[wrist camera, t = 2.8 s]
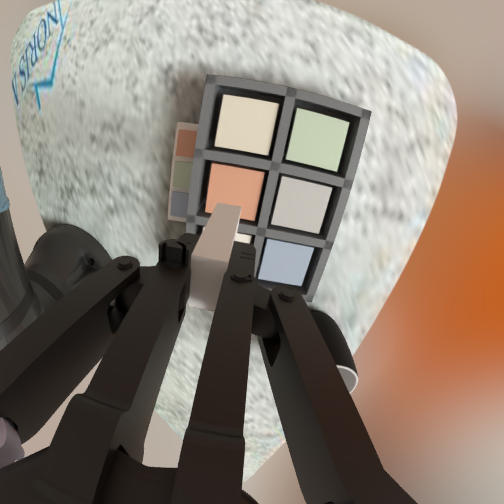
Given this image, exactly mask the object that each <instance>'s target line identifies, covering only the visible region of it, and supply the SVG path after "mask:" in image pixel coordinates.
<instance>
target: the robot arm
mask: <svg viewBox="0 0 504 504" xmlns="http://www.w3.org/2000/svg"><path fill="white" fill-rule="evenodd" d="M241 208H242V207H240V206H234V205H229V204H223V203H217V205H216V207H215V209H214V211H213V213H212V215H211V217H210V219H209V220H208V222H207V224H206V226H205V228H204V230H203V232H202V234H201V235H197V234H192V233H186V234H184V235H182V236H181V237H180V238H179V240H174V239H171V240H165V241H162V242H161V243H160V244H159V261H158V263H157V265H156V266H149V267H148V266H140V262H139V261H138V259H136V258H134V257H131V256H121V257H117V258H115V259H113V260H112V259H111V258H110V256H109V254H108V253H107V252H106V250H105V249H104V248H103V247H102V246H101V244H100V243H99V242H98V241H97V240H96V239H94V238H93V237H92V236H91V235H89V234H88V233H87V232H85V231H83V230H81V229H79V228H77V227H74V226H71V225H58V226H55V227H53V228H51V229H50V230H48V231H47V232H46V233H44V234H43V235H42V236H41V237H40V238H39V239H38V240H37V242H36V244H35V246H34V249H33V251H32V253H31V254H30V256H29V258H28V259H27V261H26V263H25V265H24V263H23V260H22V256H21V253H20V250H19V247H18V243H17V239H16V236H15V232H14V228H13V224H12V220H11V215H10V211H9V199H8V198H7V196H6V193H5V188H4V183H3V178H2V172H1V168H0V504H258V503H257V501H256V500H254V499H253V498H252V497H251V496H250V495H249V494H248V493H246V492H245V491H244V490H242V479H243V467H244V454H245V439H244V437H243V427H244V415H245V404H246V392H247V380H248V367H249V355H250V343H251V333H252V334H255V335H257V336H258V342H259V345H260V349H261V353H262V356H263V360H264V364H265V367H266V371H267V374H268V378H269V382H270V385H271V389H272V392H273V396H274V400H275V403H276V407H277V410H278V414H279V417H280V421H281V424H282V428H283V431H284V434H285V438H286V441H287V445H288V448H289V452H290V455H291V458H292V462H293V465H294V468H295V472H296V475H297V478H298V481H299V485H300V488H301V491H302V494H303V496H304V499H305V501H306V503H307V504H417V503H416V502H415V501H414V500H413V499H412V498H411V497H410V496H409V495H408V494H407V493H406V492H405V491H404V490H403V489H402V488H401V487H400V486H399V485H398V483H397V482H396V481H395V480H394V479H393V478H392V477H390V475H389V474H387V472H386V471H385V470H384V469H383V466H382V464H381V462H380V459H379V457H378V455H377V453H376V450H375V448H374V446H373V444H372V441H371V439H370V437H369V435H368V432H367V430H366V428H365V426H364V423H363V421H362V419H361V417H360V415H359V413H358V411H357V408H356V406H355V404H354V402H353V400H352V397H351V395H350V393H349V391H348V389H347V387H346V385H345V382H344V380H343V378H342V376H341V374H340V372H339V370H338V368H337V366H336V364H335V361H334V359H333V357H332V355H331V353H330V351H329V349H328V347H327V345H326V343H325V341H324V339H323V337H322V335H321V333H320V331H319V329H318V327H317V325H316V322H315V320H314V318H313V316H312V314H311V312H310V310H309V308H308V306H307V304H306V302H305V300H304V298H303V296H302V295H301V294H300V292H299V291H297V290H296V289H294V288H292V287H289V286H283V285H282V286H276V287H274V288H273V289H272V291H271V290H268V289H266V288H264V287H262V286H260V285H259V284H258V283H257V282H256V281H255V276H254V272H255V259H256V248H255V247H254V245H253V244H249V243H244V242H238V241H236V236H237V230H238V225H239V219H240V214H241ZM187 300H188V306H191V307H196V308H201V309H206V310H211V311H215V312H214V316H213V320H212V325H211V329H210V333H209V337H208V341H207V345H206V350H205V354H204V358H203V362H202V367H201V371H200V376H199V380H198V384H197V389H196V393H195V398H194V402H193V407H192V411H191V416H190V420H189V424H188V427H187V429H186V432H185V435H184V439H183V444H182V449H181V453H180V459H179V463H178V468H161V467H148V466H145V465H143V464H142V461H143V454H144V441H145V437H146V434H147V430H148V427H149V424H150V420H151V416H152V413H153V410H154V407H155V404H156V400H157V397H158V394H159V391H160V387H161V384H162V381H163V378H164V375H165V372H166V369H167V366H168V363H169V360H170V357H171V354H172V351H173V348H174V345H175V342H176V339H177V336H178V333H179V330H180V327H181V324H182V322H183V319H184V316H185V312H186V303H187ZM102 357H103V358H102ZM101 358H102V360H101V362H100V364H99V366H98V368H97V370H96V372H95V374H94V376H93V378H92V380H91V382H90V384H89V386H88V388H87V390H86V391H85V392H84V393H83V394H76V395H75V396H73V398H72V399H71V400H70V402H69V404H68V406H67V408H66V410H65V412H64V414H63V416H62V419H61V421H60V423H59V426H58V428H57V430H56V432H55V435H54V437H53V439H52V442H51V444H50V446H48V447H46V448H44V449H42V450H40V451H38V452H36V453H34V454H32V455H29V456H28V457H25V458H23V457H24V450H23V448H22V446H21V444H23V443H25V442H26V441H28V440H29V439H30V438H31V437H33V436H34V435H35V434H36V433H37V432H38V431H39V430H40V429H41V428H42V427H43V426H44V425H45V423H46V422H47V421H48V420H49V419H50V417H51V416H52V415H53V414H54V413H55V411H56V410H57V409H58V408H59V407H60V405H61V404H62V403H63V402H64V401H65V399H66V398H67V397H68V396H69V395H70V394H71V393H72V391H73V390H74V389H75V388H76V387H77V386H78V384H79V383H80V382H81V381H82V380H83V379H84V378H85V376H86V375H87V374H88V373H89V372H90V371H91V370H92V369H93V367H94V366H95V365H96V364H97V363H98V362H99V361H100V359H101ZM15 460H18V461H16V462H15Z"/></svg>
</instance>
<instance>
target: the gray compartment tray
mask: <svg viewBox="0 0 504 504" xmlns="http://www.w3.org/2000/svg"><path fill="white" fill-rule="evenodd" d="M223 95H231V96H238V97H244V98H250V99H256V100H262V101H267V102H272V103H277V104H279V107H278V111H277V116H276V121H275V126H274V130H273V135H272V140H271V145H270V149H269V154H268V155H263V154H257V153H252V152H247V151H241V150H235V149H229V148H223V147H216V146H215V140H216V134H217V129H218V123H219V117H220V112H221V106H222V101H223ZM295 108H299V109H304V110H308V111H311V112H315V113H319V114H323V115H326V116H330V117H333V118H337V119H340V120H343V121H346V122H349V126H348V131H347V135H346V139H345V143H344V147H343V150H342V154H341V158H340V162H339V166H338V169H337V172H336V171H332V170H328V169H324V168H321V167H317V166H313V165H308V164H304V163H300V162H296V161H291V160H287V159H286V158H285V156H284V155H285V150H286V146H287V141H288V137H289V132H290V128H291V123H292V119H293V114H294V109H295ZM370 116H371V111H369V110H366V109H363V108H360V107H357V106H354V105H351V104H348V103H345V102H342V101H339V100H336V99H332V98H329V97H325V96H322V95H318V94H315V93H311V92H307V91H303V90H299V89H294V88H290V87H286V86H281V85H276V84H271V83H266V82H260V81H254V80H248V79H241V78H234V77H226V76H218V75H208V74H207V79H206V84H205V89H204V95H203V100H202V106H201V112H200V118H199V124H195V123H186V122H177V127H176V134H175V142H174V150H173V159H172V168H171V179H170V190H169V203H168V218H167V219H168V220H174V221H180V222H185V223H186V232H185V234H186V233H192V234H197V235H201V234H202V232H203V227H204V226H206V224H207V222H208V220H209V219H210V217H211V215H212V213H208V212H205V209H206V201H207V194H208V187H209V180H210V173H211V166H212V163H213V162H214V161H220V162H226V163H232V164H238V165H244V166H249V167H255V168H260V169H265V173H264V178H263V183H262V188H261V192H260V197H259V202H258V207H257V212H256V217H255V221H252V220H247V219H241V218H240V219H239V225H238V230H237V232H242V233H248V234H252V236H251V241H250V244H253V245H254V247H255V248H256V259H255V272H254V276H255V281H256V282H257V283H258V284H259V285H260V286H262V287H264V288H266V289H268V290H271V291H272V289H273V288H274V287H276V286H282V285H283V286H289V287H292V288H294V289H296V290H297V291H299V292H300V294H301V295H302V296H303V298H304V300H305V301H306V302H312V300H313V297H314V295H315V292H316V290H317V287H318V284H319V282H320V279H321V276H322V274H323V271H324V268H325V266H326V263H327V260H328V257H329V255H330V252H331V249H332V246H333V243H334V240H335V237H336V234H337V231H338V228H339V225H340V222H341V219H342V216H343V213H344V210H345V207H346V204H347V201H348V197H349V194H350V191H351V187H352V184H353V181H354V177H355V174H356V170H357V167H358V163H359V159H360V156H361V152H362V148H363V144H364V141H365V137H366V133H367V129H368V125H369V120H370ZM266 237H269V238H274V239H279V240H285V241H290V242H295V243H300V244H305V245H310V246H314V250H313V253H312V256H311V259H310V262H309V265H308V268H307V271H306V274H305V277H304V280H303V283H302V286H298V285H292V284H286V283H280V282H274V281H268V280H262V279H258V268H259V264H260V260H261V255H262V251H263V247H264V242H265V238H266Z"/></svg>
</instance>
